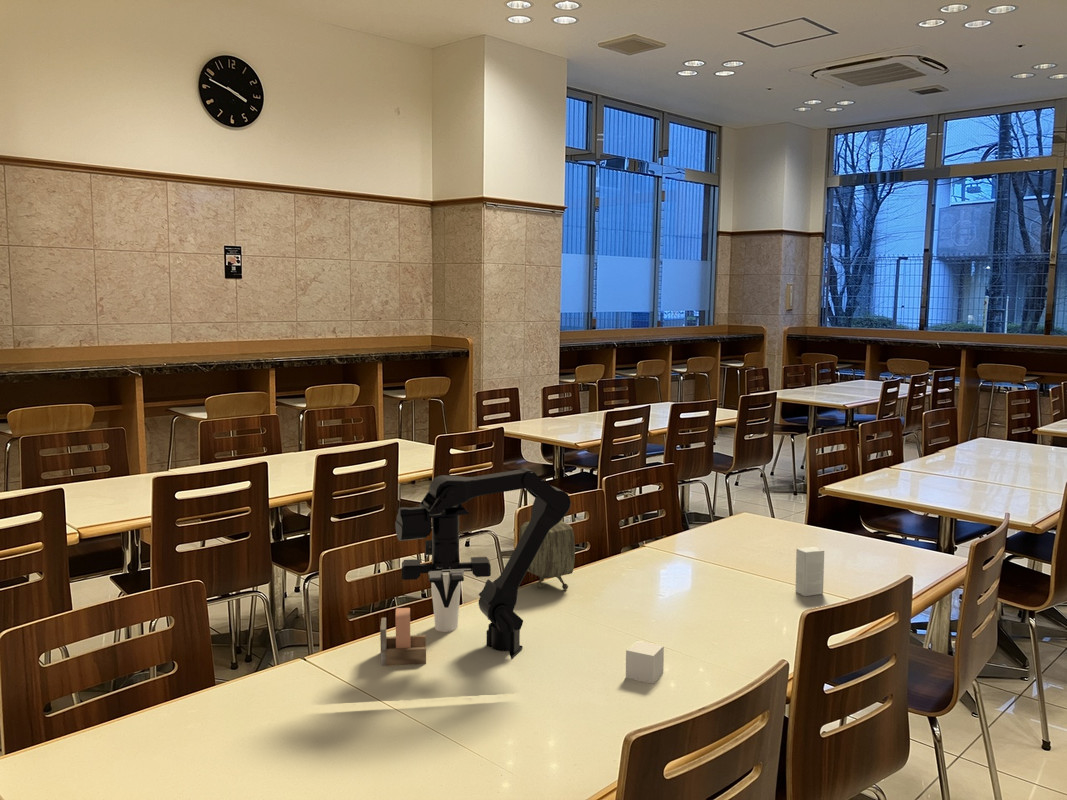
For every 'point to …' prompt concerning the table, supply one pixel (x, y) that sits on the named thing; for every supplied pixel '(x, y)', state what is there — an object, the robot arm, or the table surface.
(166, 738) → the table surface
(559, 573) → the tabletop clock
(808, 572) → the skincare box
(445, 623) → the drinking glass
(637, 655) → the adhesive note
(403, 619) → the salmon pink block
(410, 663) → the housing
